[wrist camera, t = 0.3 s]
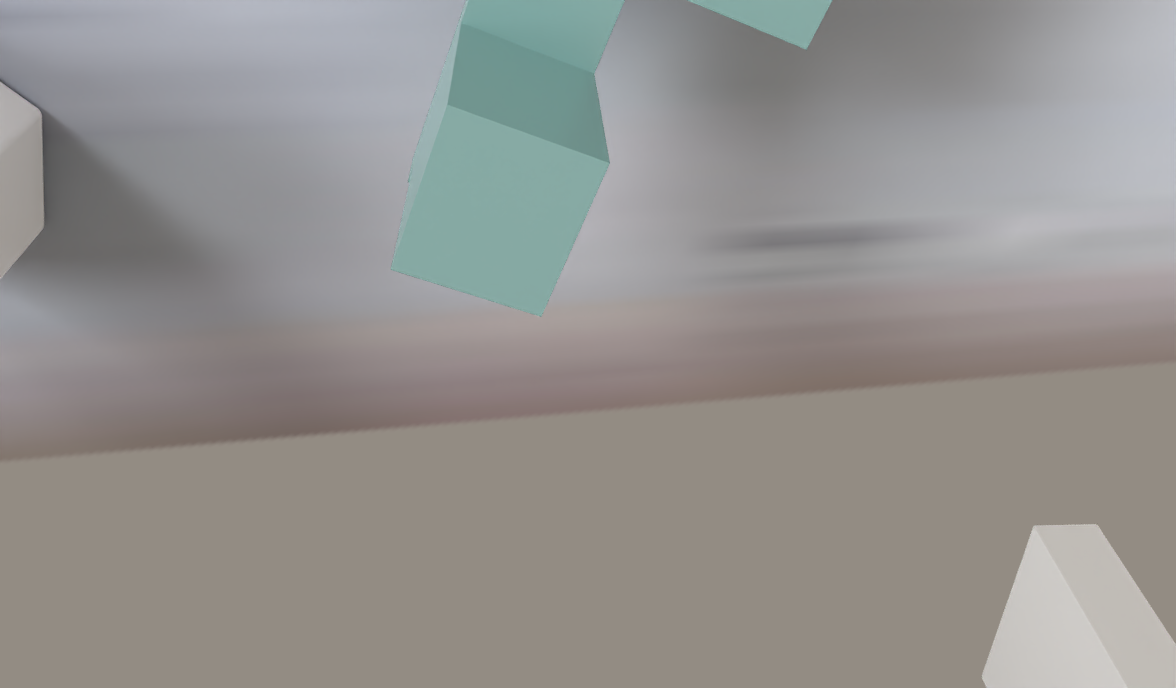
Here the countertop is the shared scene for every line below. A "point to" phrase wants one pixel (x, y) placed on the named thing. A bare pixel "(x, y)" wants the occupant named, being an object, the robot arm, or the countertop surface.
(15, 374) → the countertop surface
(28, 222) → the jar
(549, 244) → the teal t-shaped block
